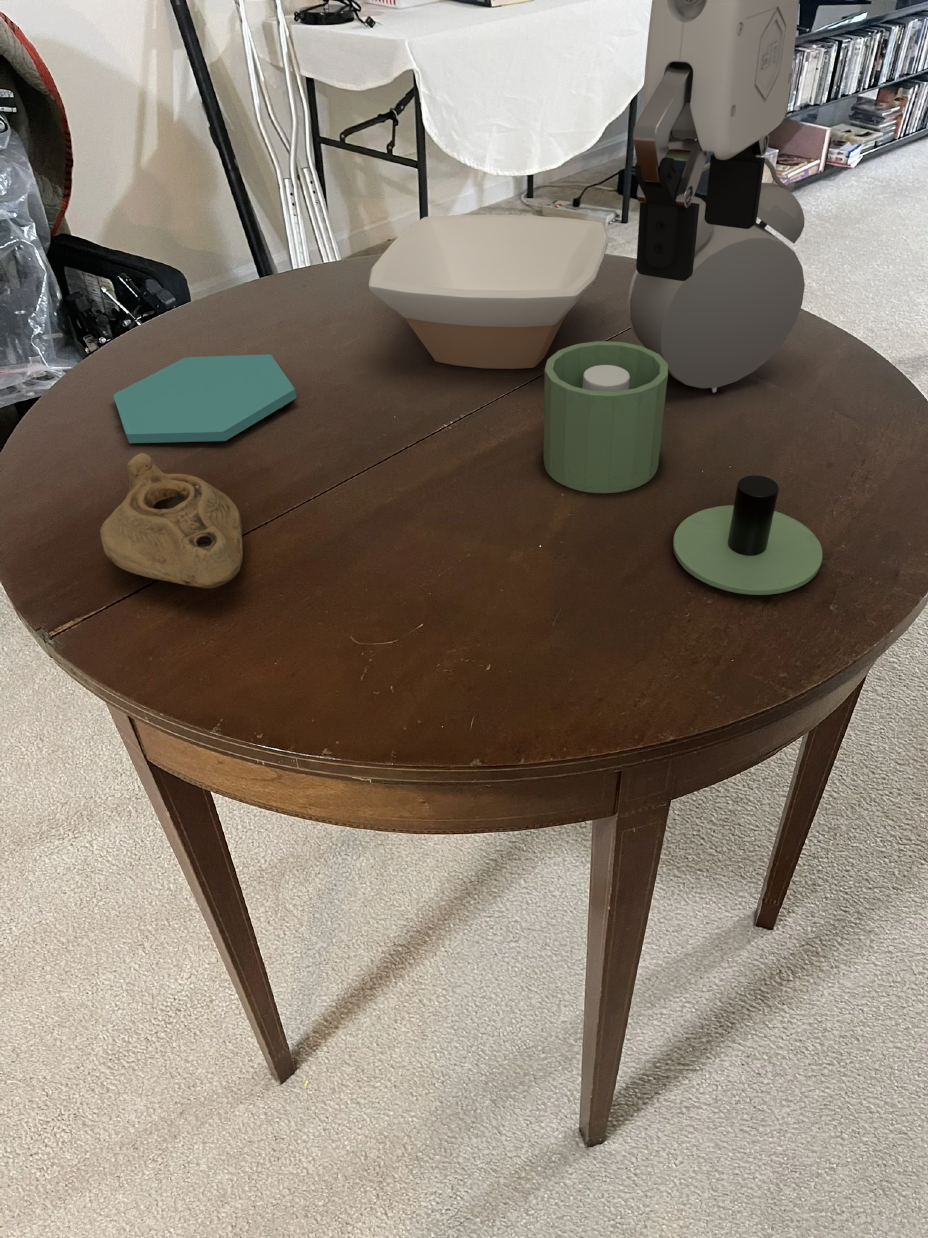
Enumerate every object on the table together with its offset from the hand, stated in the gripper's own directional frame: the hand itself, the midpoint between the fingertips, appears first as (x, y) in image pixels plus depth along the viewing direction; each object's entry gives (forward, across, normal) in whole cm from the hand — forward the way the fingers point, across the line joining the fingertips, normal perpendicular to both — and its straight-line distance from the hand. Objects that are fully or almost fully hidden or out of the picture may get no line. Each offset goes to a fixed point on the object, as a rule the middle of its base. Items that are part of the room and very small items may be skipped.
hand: (698, 249), depth 55 cm
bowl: (+25, +31, +35) cm, 53 cm away
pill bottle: (+25, +14, +12) cm, 31 cm away
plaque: (+25, +4, +54) cm, 59 cm away
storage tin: (+25, +14, +13) cm, 31 cm away
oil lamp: (+25, -17, +34) cm, 46 cm away
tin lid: (+25, +7, -4) cm, 26 cm away
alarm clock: (+25, +34, +11) cm, 43 cm away
